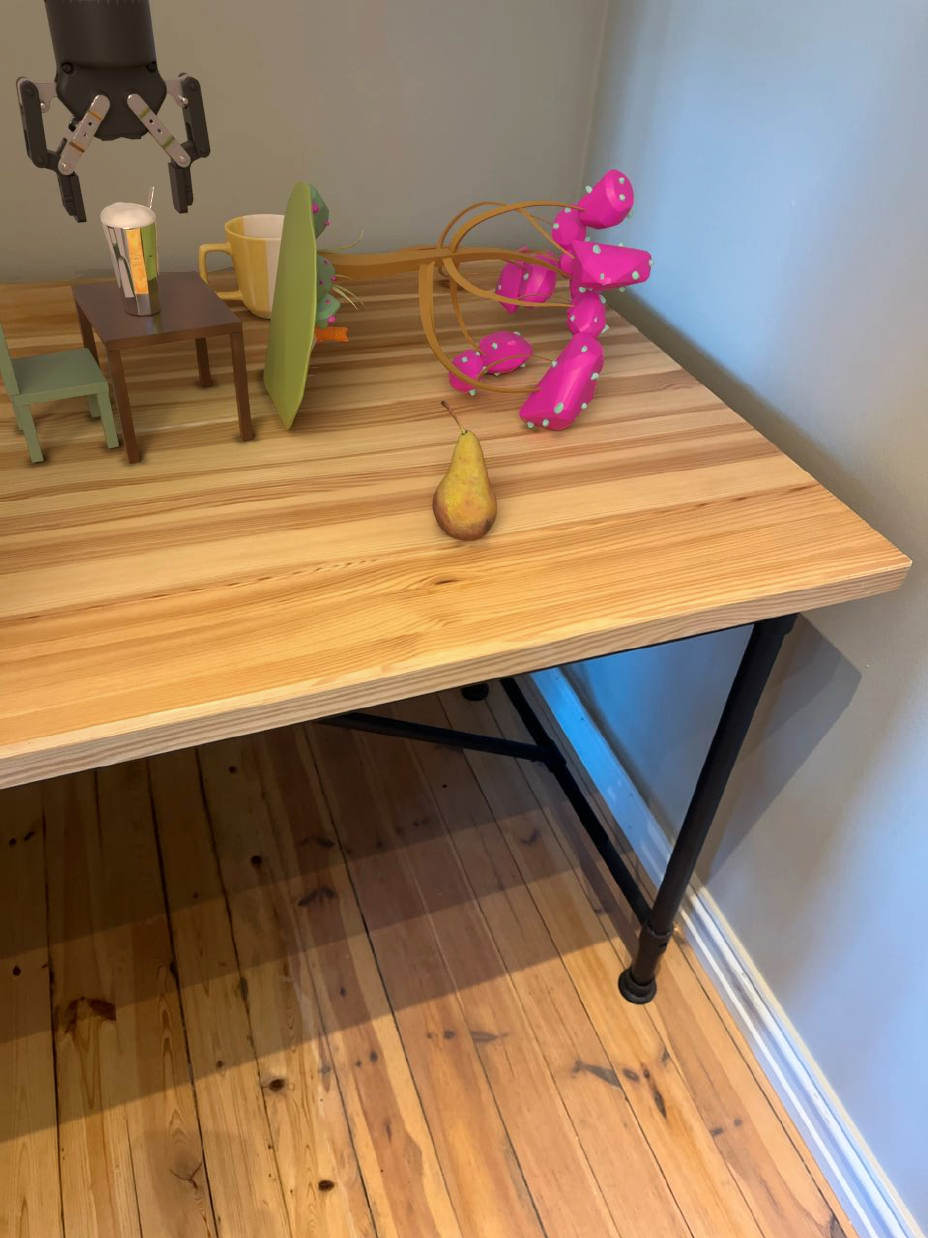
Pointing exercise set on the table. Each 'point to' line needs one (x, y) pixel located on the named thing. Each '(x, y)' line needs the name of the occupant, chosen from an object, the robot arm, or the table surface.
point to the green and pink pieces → (521, 282)
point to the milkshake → (134, 254)
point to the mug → (250, 259)
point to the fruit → (465, 491)
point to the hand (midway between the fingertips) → (131, 215)
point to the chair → (55, 388)
